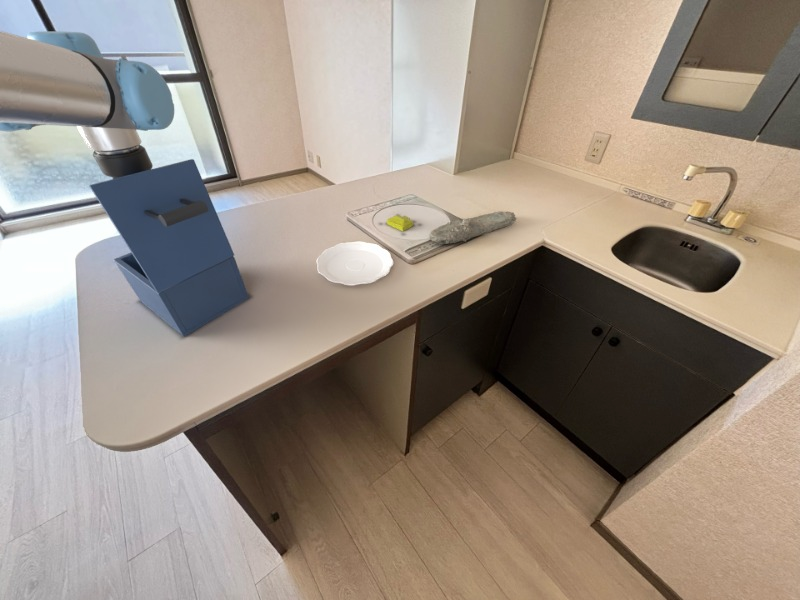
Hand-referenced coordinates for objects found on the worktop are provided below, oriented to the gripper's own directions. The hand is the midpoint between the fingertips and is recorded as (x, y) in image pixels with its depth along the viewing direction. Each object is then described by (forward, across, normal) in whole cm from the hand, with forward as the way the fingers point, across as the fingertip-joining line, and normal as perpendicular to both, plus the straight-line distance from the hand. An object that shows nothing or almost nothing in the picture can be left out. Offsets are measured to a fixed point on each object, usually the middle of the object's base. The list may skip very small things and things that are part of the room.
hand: (174, 259), depth 71 cm
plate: (+12, -22, -34) cm, 42 cm away
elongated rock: (+12, -39, -73) cm, 84 cm away
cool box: (+11, 0, 0) cm, 11 cm away
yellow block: (+12, -18, -62) cm, 65 cm away
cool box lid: (-11, -8, 0) cm, 14 cm away
